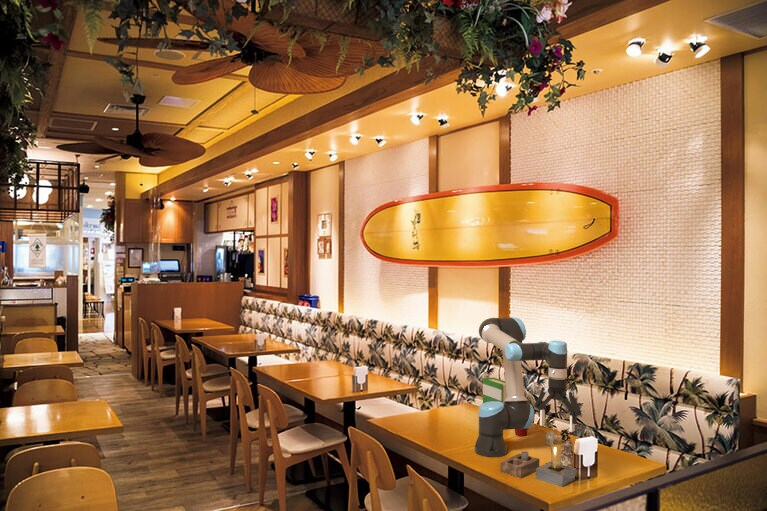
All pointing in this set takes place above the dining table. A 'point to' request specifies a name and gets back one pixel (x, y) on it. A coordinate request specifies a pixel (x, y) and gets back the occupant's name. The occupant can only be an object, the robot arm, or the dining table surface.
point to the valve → (556, 436)
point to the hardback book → (494, 390)
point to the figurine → (567, 454)
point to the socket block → (556, 474)
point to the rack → (519, 465)
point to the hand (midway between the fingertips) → (557, 428)
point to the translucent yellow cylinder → (556, 458)
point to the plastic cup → (521, 432)
